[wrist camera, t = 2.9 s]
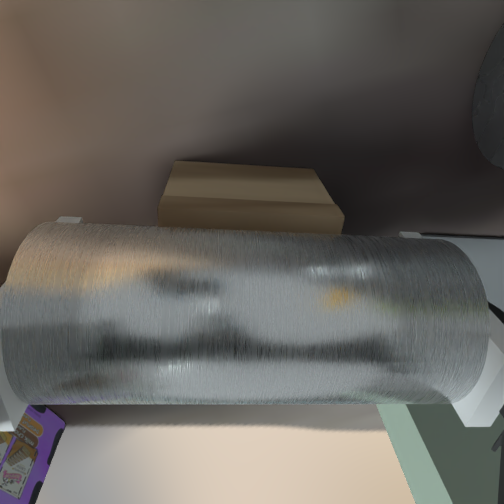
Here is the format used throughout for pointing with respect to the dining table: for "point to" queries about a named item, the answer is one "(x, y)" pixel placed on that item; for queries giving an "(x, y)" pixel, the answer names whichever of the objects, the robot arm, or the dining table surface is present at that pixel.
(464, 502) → the block
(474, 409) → the robot arm
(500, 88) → the roller bed
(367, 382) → the roller
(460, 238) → the mat
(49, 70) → the dining table surface
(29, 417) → the candy box
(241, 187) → the roller rest
